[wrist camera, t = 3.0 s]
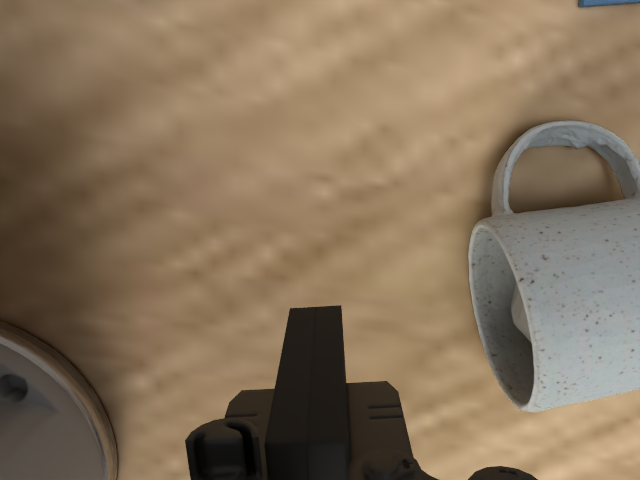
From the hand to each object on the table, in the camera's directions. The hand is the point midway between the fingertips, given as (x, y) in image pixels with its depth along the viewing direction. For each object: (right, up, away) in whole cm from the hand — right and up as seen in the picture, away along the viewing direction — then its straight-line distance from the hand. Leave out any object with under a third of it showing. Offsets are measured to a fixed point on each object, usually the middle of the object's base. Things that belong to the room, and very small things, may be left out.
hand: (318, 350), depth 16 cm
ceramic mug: (+10, +3, +9) cm, 14 cm away
